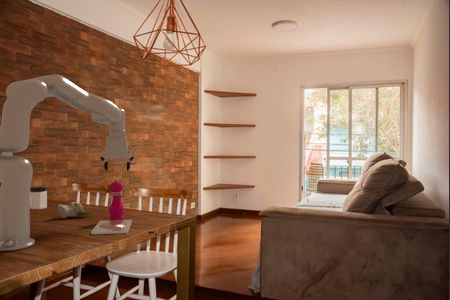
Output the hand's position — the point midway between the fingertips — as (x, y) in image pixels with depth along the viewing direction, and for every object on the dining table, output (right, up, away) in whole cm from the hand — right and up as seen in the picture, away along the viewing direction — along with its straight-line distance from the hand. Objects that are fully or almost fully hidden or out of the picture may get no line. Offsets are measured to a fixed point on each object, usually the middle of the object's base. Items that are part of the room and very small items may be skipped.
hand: (117, 170), depth 164 cm
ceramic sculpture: (-24, -24, +6) cm, 34 cm away
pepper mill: (0, -24, 0) cm, 24 cm away
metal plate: (+3, -24, -16) cm, 29 cm away
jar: (-53, -23, +29) cm, 65 cm away
